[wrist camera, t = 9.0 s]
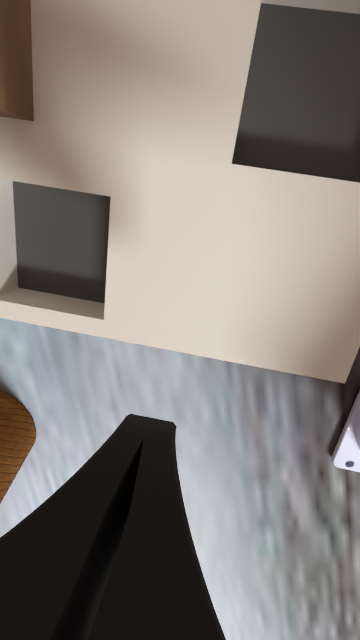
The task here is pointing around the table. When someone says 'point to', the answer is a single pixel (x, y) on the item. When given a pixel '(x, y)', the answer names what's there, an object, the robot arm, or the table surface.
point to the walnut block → (16, 60)
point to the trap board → (190, 179)
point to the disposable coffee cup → (13, 439)
